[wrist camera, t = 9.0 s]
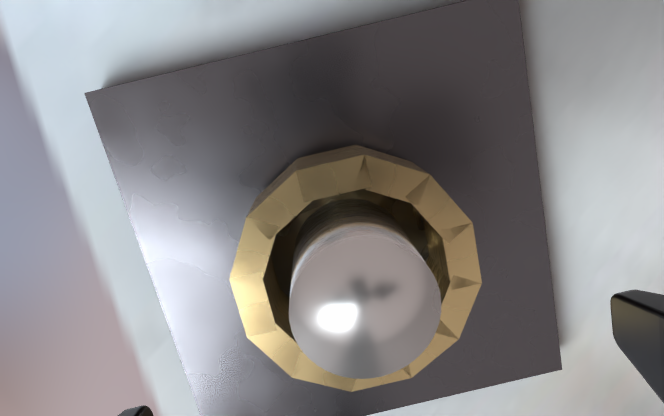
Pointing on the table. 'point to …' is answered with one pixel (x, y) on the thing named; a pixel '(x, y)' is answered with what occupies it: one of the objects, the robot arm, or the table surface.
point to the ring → (333, 179)
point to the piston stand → (343, 208)
